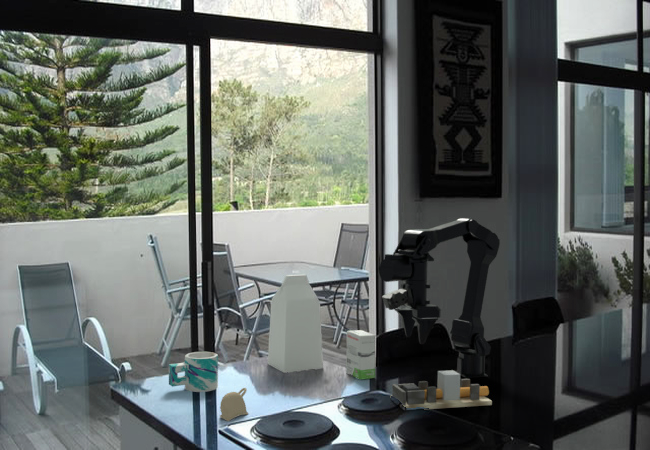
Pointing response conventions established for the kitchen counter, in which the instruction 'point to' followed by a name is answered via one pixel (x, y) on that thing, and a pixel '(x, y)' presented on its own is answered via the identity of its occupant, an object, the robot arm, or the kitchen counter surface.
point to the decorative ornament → (233, 405)
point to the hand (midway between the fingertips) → (414, 340)
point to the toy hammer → (448, 387)
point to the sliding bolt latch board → (418, 398)
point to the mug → (196, 372)
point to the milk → (295, 327)
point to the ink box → (360, 354)
